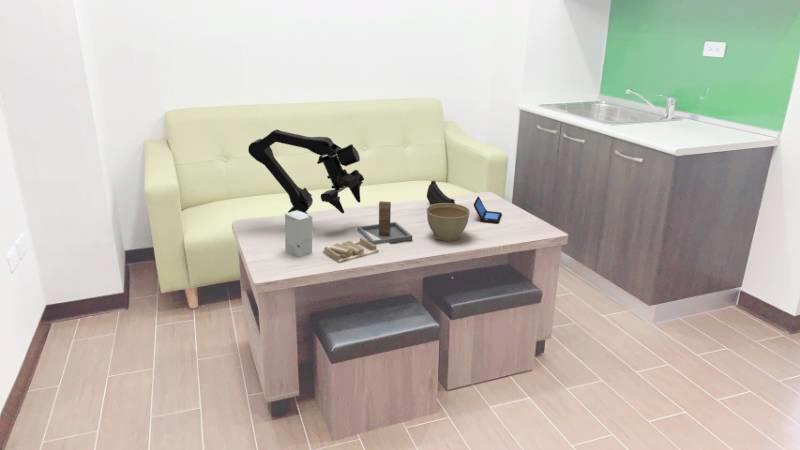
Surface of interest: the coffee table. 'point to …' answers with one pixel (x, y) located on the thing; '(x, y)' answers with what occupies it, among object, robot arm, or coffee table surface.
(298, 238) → the skincare box
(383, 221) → the walnut block
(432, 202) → the black curved fin
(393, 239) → the tray
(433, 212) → the planter bowl
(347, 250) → the offcut
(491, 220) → the handheld game console
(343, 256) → the offcut
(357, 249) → the offcut rack
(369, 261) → the coffee table surface
